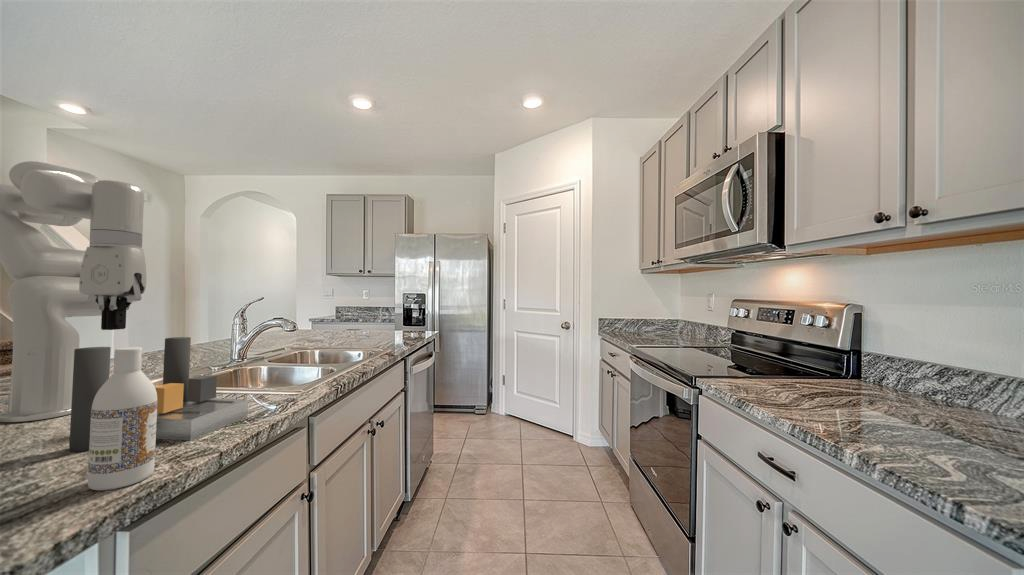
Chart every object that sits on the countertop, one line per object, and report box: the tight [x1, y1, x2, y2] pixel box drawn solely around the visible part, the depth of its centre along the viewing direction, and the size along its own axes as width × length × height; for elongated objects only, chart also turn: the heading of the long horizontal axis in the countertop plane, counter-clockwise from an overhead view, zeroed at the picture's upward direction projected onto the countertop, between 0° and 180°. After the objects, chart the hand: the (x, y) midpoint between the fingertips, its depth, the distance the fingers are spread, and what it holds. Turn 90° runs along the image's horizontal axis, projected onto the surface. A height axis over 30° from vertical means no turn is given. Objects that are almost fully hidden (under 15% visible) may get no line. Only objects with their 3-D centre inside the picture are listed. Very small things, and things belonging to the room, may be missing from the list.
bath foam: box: [87, 346, 158, 491], centre depth 56 cm, size 7×7×20 cm
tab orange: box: [154, 383, 184, 413], centre depth 75 cm, size 3×4×5 cm
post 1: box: [68, 346, 112, 453], centre depth 67 cm, size 4×4×18 cm
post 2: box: [162, 336, 192, 402], centre depth 84 cm, size 4×4×18 cm
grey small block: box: [187, 374, 218, 402], centre depth 83 cm, size 3×4×5 cm
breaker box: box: [156, 397, 249, 441], centre depth 78 cm, size 12×14×4 cm
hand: (113, 329), depth 76 cm, fingers closed
